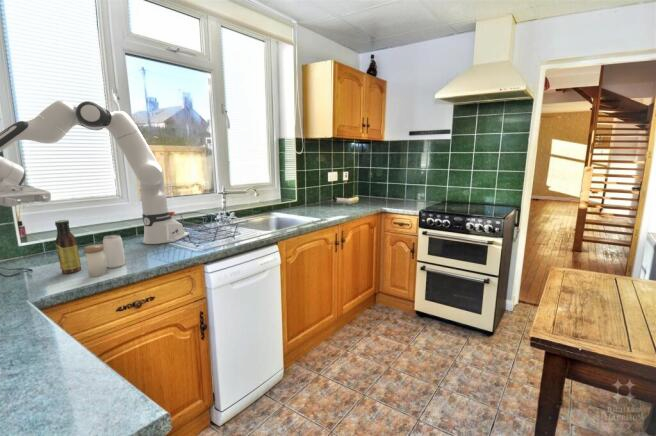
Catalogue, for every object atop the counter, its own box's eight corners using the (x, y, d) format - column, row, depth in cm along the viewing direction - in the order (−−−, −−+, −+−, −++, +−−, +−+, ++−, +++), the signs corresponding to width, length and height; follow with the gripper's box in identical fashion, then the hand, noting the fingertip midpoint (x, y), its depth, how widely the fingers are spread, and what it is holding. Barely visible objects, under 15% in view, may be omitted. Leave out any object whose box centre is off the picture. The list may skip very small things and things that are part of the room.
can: (129, 262, 139) (125, 234, 136) (118, 268, 132) (113, 238, 130) (114, 262, 139) (109, 234, 137) (102, 268, 133) (97, 238, 130)
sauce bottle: (64, 269, 132) (55, 219, 128) (83, 267, 134) (74, 218, 130) (58, 275, 126) (48, 223, 122) (78, 273, 128) (68, 221, 124)
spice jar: (100, 270, 131) (95, 243, 128) (111, 272, 129) (107, 244, 126) (84, 276, 125) (79, 248, 123) (96, 277, 123) (91, 249, 121)
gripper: (-27, 188, 123) (-1, 195, 119) (36, 185, 142) (60, 191, 138) (-26, 205, 124) (0, 212, 120) (36, 200, 144) (60, 206, 140)
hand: (32, 201), depth 130 cm, fingers open, 8 cm apart
